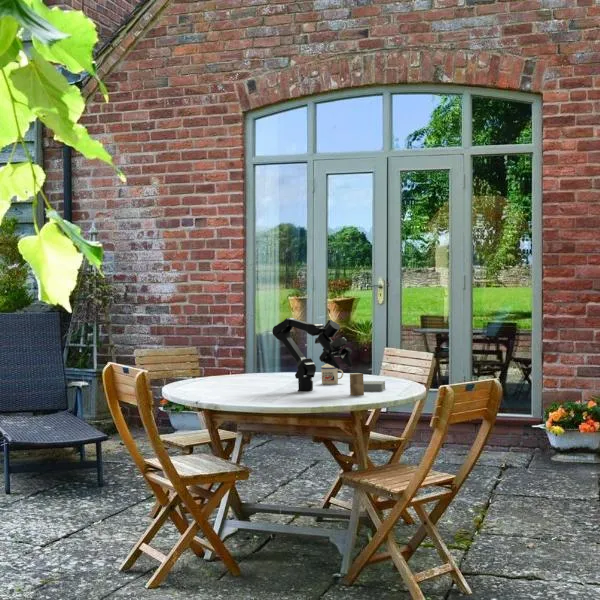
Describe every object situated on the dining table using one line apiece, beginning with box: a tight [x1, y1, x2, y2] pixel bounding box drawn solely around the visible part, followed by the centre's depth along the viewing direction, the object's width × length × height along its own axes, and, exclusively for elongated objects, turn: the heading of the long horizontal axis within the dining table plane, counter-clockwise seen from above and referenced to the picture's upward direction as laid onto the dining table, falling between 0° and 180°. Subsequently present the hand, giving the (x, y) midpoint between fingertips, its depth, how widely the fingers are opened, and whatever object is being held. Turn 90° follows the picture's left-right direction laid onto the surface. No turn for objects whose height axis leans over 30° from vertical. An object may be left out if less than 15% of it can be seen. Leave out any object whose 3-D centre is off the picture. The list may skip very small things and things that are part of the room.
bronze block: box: [349, 372, 365, 397], centre depth 398 cm, size 4×4×10 cm
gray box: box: [363, 380, 386, 392], centre depth 416 cm, size 12×12×4 cm
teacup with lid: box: [320, 363, 344, 385], centre depth 449 cm, size 12×9×12 cm
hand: (345, 367), depth 403 cm, fingers open, 9 cm apart
